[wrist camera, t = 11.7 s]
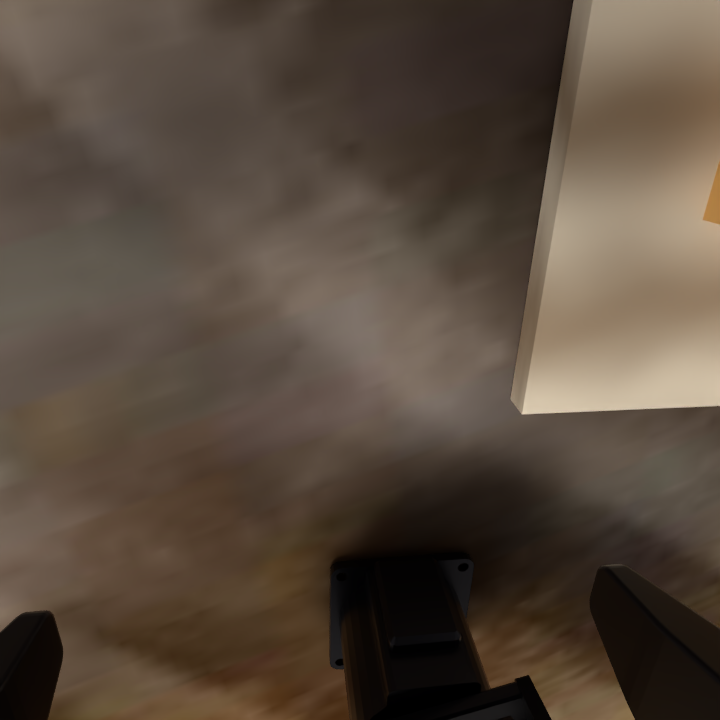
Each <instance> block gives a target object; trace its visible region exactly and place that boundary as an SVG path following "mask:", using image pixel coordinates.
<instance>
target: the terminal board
mask: <svg viewBox="0 0 720 720" xmlns="http://www.w3.org/2000/svg"><path fill="white" fill-rule="evenodd" d="M719 161H720V0H574V1H573V7H572V13H571V20H570V26H569V32H568V39H567V45H566V51H565V57H564V64H563V70H562V76H561V83H560V89H559V95H558V102H557V108H556V114H555V120H554V127H553V133H552V139H551V146H550V152H549V158H548V165H547V171H546V177H545V184H544V190H543V196H542V202H541V209H540V215H539V221H538V228H537V234H536V240H535V247H534V253H533V259H532V266H531V272H530V278H529V284H528V291H527V297H526V303H525V310H524V316H523V322H522V329H521V335H520V341H519V348H518V354H517V360H516V366H515V373H514V379H513V385H512V392H511V398H510V400H511V401H512V402H513V403H514V405H515V406H516V407H517V409H518V410H519V411H520V412H521V414H541V413H564V412H587V411H610V410H634V409H657V408H680V407H704V406H720V224H716V223H712V222H709V221H705V220H703V217H704V213H705V210H706V206H707V203H708V199H709V196H710V192H711V189H712V185H713V182H714V178H715V175H716V171H717V168H718V164H719Z"/></svg>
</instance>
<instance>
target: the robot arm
mask: <svg viewBox="0 0 720 720" xmlns="http://www.w3.org/2000/svg"><path fill="white" fill-rule="evenodd" d="M462 563H464V564H462ZM460 564H462V565H460ZM473 569H474V563H473V561H472V558H471V556H470V555H469V554H467V553H462V552H461V553H448V554H434V555H421V556H408V557H394V558H381V559H368V560H354V561H341V562H337V563H335V564H333V565H332V567H331V568H330V644H329V656H330V665H331V667H333V668H335V669H344V672H345V681H346V691H347V700H348V709H349V718H350V720H551V718H550V716H549V714H548V712H547V710H546V708H545V706H544V704H543V702H542V700H541V698H540V696H539V694H538V692H537V690H536V688H535V686H534V685H533V683H532V681H531V679H530V677H529V675H527V676H523V677H520V678H516V679H515V682H513V683H509V684H506V685H502V686H499V687H496V688H492V689H491V688H490V685H489V683H488V680H487V677H486V674H485V671H484V668H483V666H482V663H481V660H480V657H479V654H478V652H477V649H476V646H475V643H474V640H473V638H472V635H471V632H470V629H469V626H468V624H467V621H466V616H467V610H468V603H469V596H470V590H471V583H472V576H473ZM339 573H344V574H339ZM590 610H591V613H592V616H593V619H594V621H595V624H596V626H597V629H598V631H599V634H600V636H601V639H602V642H603V644H604V647H605V649H606V652H607V654H608V657H609V659H610V662H611V664H612V667H613V669H614V672H615V674H616V677H617V679H618V682H619V685H620V687H621V689H622V692H623V694H624V697H625V699H626V701H627V704H628V706H629V708H630V710H631V712H632V714H633V716H634V718H635V720H720V628H719V627H717V626H716V625H714V624H713V623H711V622H710V621H708V620H707V619H705V618H704V617H702V616H701V615H699V614H698V613H696V612H695V611H693V610H692V609H690V608H689V607H687V606H686V605H684V604H683V603H681V602H680V601H678V600H677V599H676V598H674V597H673V596H671V595H670V594H668V593H667V592H665V591H664V590H662V589H661V588H659V587H658V586H656V585H655V584H653V583H652V582H650V581H649V580H647V579H646V578H644V577H643V576H641V575H640V574H638V573H637V572H635V571H634V570H632V569H631V568H629V567H628V566H626V565H623V564H613V565H603V566H601V567H600V568H599V569H598V571H597V574H596V578H595V581H594V585H593V589H592V592H591V596H590ZM62 659H63V646H62V642H61V639H60V635H59V632H58V628H57V625H56V621H55V618H54V615H53V614H52V613H51V612H50V611H34V612H25V613H22V614H21V615H19V616H17V617H16V618H15V619H14V620H13V621H12V622H11V623H10V624H9V625H7V626H6V627H5V628H4V629H3V630H2V631H1V632H0V720H48V717H49V713H50V709H51V705H52V701H53V697H54V693H55V689H56V685H57V681H58V677H59V673H60V669H61V665H62Z"/></svg>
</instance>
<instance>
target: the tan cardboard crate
mask: <svg viewBox="0 0 720 720" xmlns="http://www.w3.org/2000/svg"><path fill="white" fill-rule="evenodd" d="M703 220H705V221H709V222H712V223H716V224H720V161H719V164H718V168H717V171H716V175H715V178H714V182H713V185H712V189H711V192H710V196H709V199H708V203H707V206H706V210H705V213H704V217H703Z"/></svg>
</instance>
